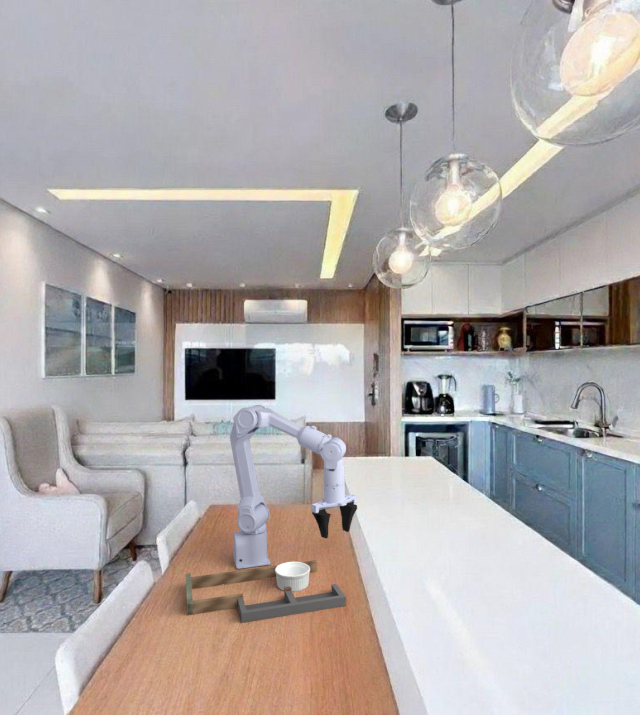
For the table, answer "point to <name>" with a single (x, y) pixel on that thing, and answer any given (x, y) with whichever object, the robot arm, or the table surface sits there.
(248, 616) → the grey e-shaped block
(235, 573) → the walnut channel
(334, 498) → the robot arm
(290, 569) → the ramekin
